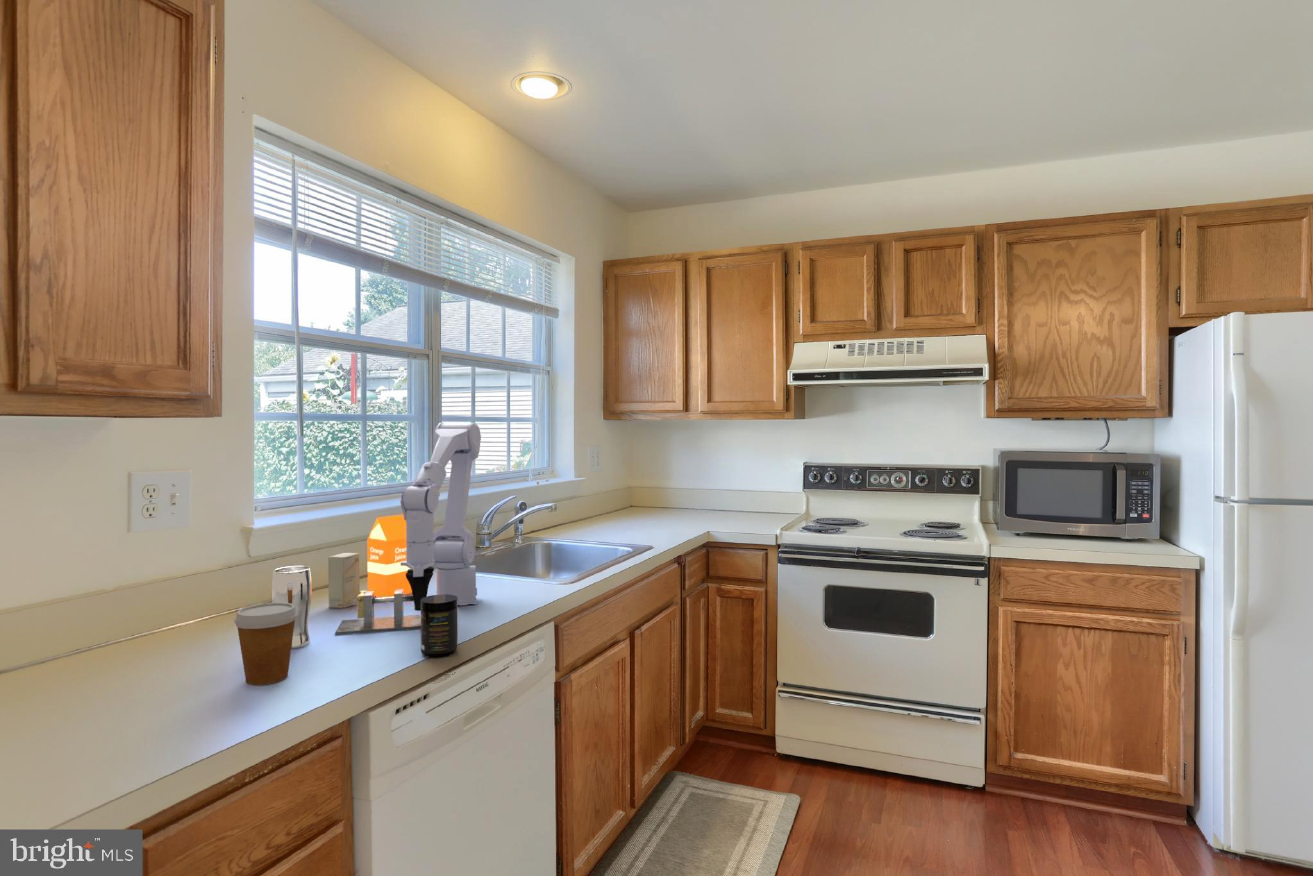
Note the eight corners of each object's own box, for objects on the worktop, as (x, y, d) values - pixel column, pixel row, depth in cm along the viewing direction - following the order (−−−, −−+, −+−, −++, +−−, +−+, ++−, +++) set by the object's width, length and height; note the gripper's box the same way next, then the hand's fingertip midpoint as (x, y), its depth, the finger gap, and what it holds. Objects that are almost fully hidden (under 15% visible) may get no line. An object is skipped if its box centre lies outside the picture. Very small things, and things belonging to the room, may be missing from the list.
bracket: (428, 616, 157) (428, 585, 157) (427, 628, 148) (426, 594, 148) (342, 623, 152) (342, 590, 152) (335, 635, 143) (335, 600, 143)
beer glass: (320, 642, 139) (319, 567, 138) (289, 652, 132) (288, 574, 132) (296, 637, 142) (295, 564, 141) (264, 647, 135) (263, 570, 135)
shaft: (426, 607, 153) (426, 582, 153) (425, 610, 151) (425, 585, 151) (354, 612, 149) (354, 586, 149) (352, 615, 147) (352, 589, 147)
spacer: (366, 611, 151) (366, 590, 151) (363, 618, 146) (363, 595, 146) (360, 612, 151) (360, 590, 151) (357, 618, 146) (357, 596, 146)
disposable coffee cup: (253, 693, 112) (253, 619, 112) (223, 682, 117) (222, 611, 117) (310, 675, 120) (309, 606, 120) (279, 665, 125) (278, 599, 125)
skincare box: (344, 608, 164) (343, 557, 163) (327, 607, 165) (327, 556, 164) (360, 602, 170) (360, 552, 170) (344, 601, 171) (344, 551, 170)
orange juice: (367, 595, 177) (366, 516, 176) (396, 588, 184) (396, 513, 184) (387, 599, 173) (386, 519, 172) (416, 591, 180) (415, 515, 180)
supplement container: (463, 654, 132) (463, 599, 131) (428, 661, 127) (427, 605, 127) (450, 645, 137) (449, 592, 137) (415, 652, 133) (415, 597, 133)
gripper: (403, 536, 158) (403, 596, 158) (397, 547, 144) (398, 612, 144) (435, 535, 159) (436, 594, 160) (433, 545, 146) (433, 610, 146)
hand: (420, 602), depth 152 cm, fingers closed on shaft, 2 cm apart
